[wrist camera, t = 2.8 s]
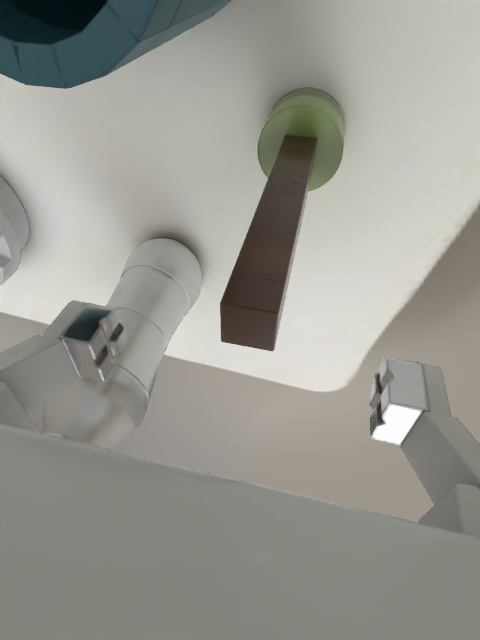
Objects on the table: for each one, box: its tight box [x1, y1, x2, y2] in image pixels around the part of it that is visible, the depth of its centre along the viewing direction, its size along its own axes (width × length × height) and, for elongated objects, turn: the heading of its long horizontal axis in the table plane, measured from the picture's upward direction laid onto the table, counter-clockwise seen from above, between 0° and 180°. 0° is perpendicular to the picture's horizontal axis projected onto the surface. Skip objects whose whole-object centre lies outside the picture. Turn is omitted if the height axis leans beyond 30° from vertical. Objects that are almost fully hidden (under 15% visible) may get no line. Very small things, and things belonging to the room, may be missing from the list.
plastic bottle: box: [42, 238, 202, 449], centre depth 27 cm, size 6×7×20 cm
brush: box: [220, 88, 345, 351], centre depth 18 cm, size 5×5×18 cm
